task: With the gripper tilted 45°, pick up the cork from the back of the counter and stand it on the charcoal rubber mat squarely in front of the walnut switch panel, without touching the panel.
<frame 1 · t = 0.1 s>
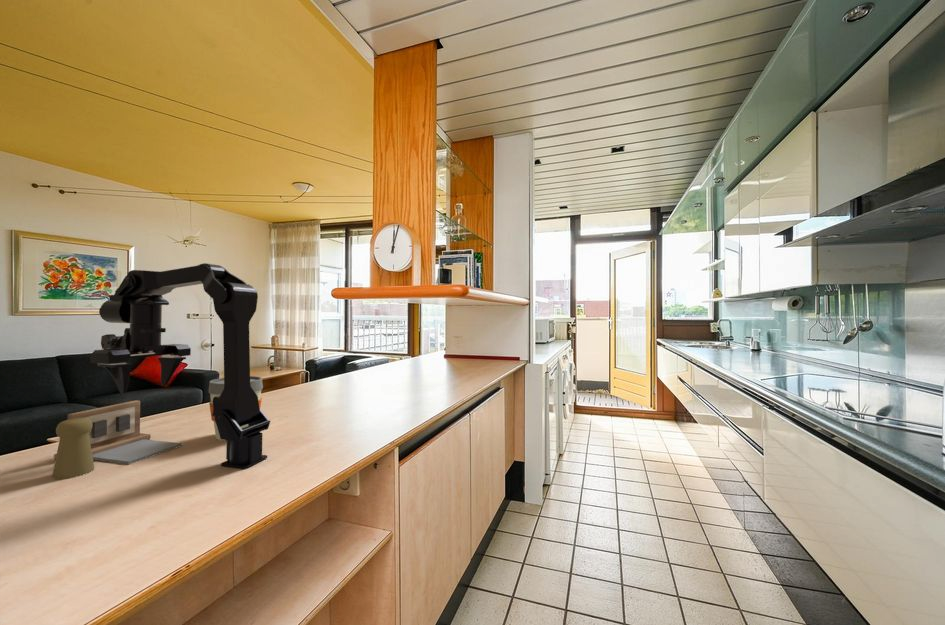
hand: (144, 389, 90), 15 cm above the kitchen counter, tool pointing down, fingers open, 9 cm apart
switch panel: (106, 448, 91), on the kitchen counter
reusable coffee cup: (235, 435, 102), on the kitchen counter
cork: (73, 473, 78), on the kitchen counter
mat: (137, 452, 89), on the kitchen counter
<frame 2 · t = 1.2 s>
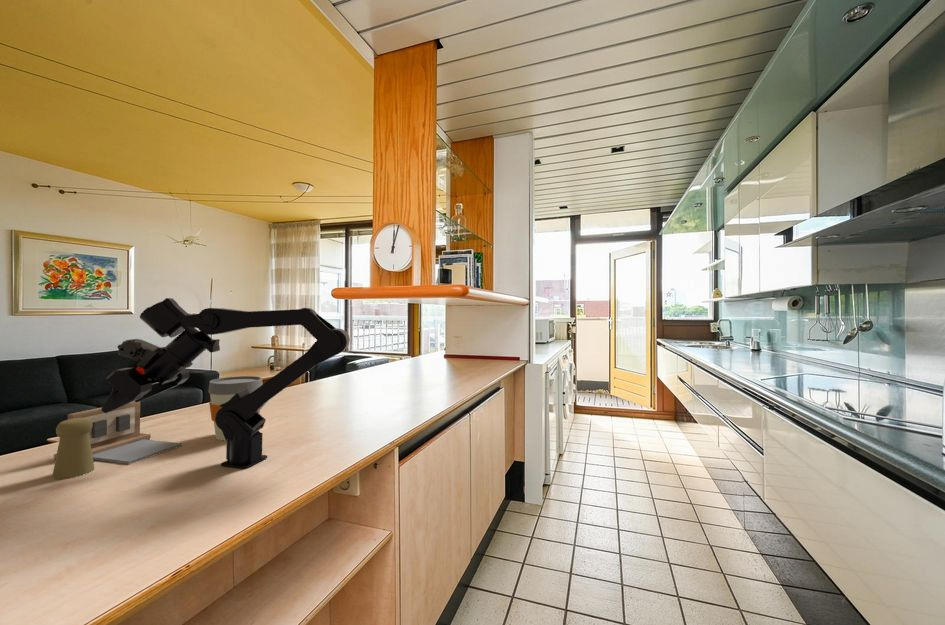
hand: (120, 405, 79), 13 cm above the kitchen counter, tool tilted 45°, fingers open, 9 cm apart
nothing on the kitchen counter moved.
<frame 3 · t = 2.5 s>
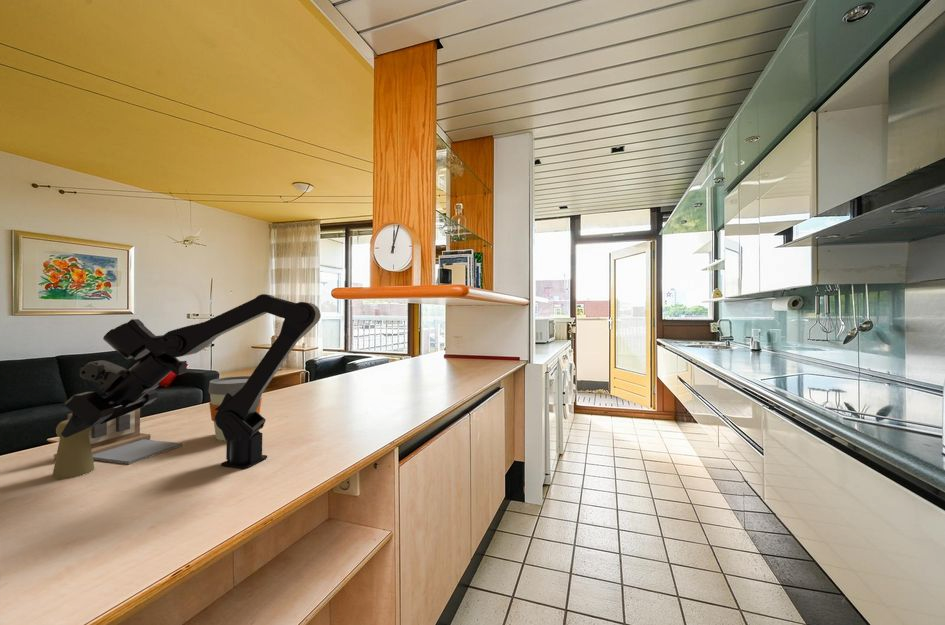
hand: (82, 428, 78), 9 cm above the kitchen counter, tool tilted 45°, fingers open, 9 cm apart
nothing on the kitchen counter moved.
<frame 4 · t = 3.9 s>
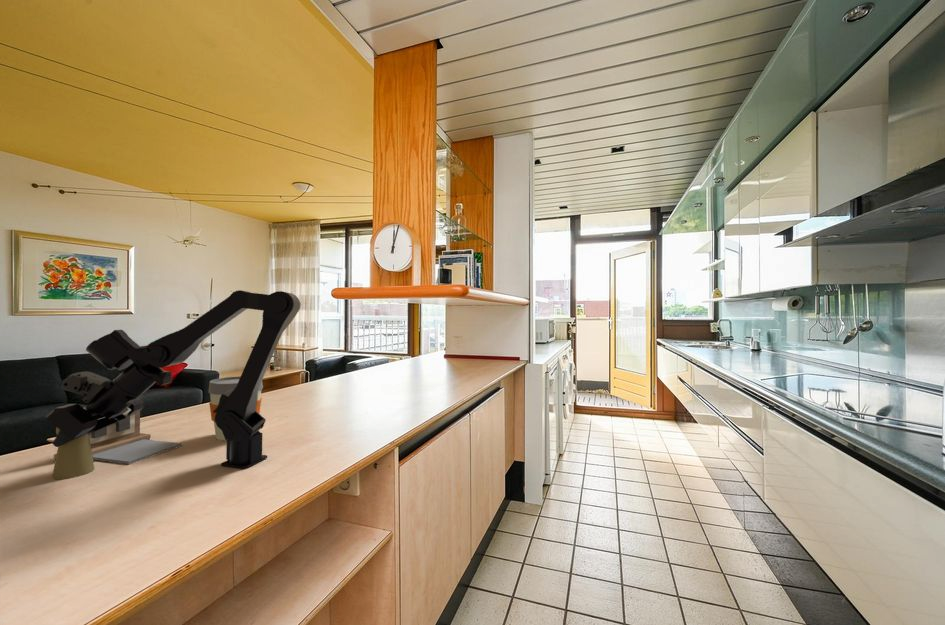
hand: (66, 440, 77), 7 cm above the kitchen counter, tool tilted 45°, fingers closed on cork, 5 cm apart
cork: (73, 473, 78), on the kitchen counter, touching gripper
everything else where it was.
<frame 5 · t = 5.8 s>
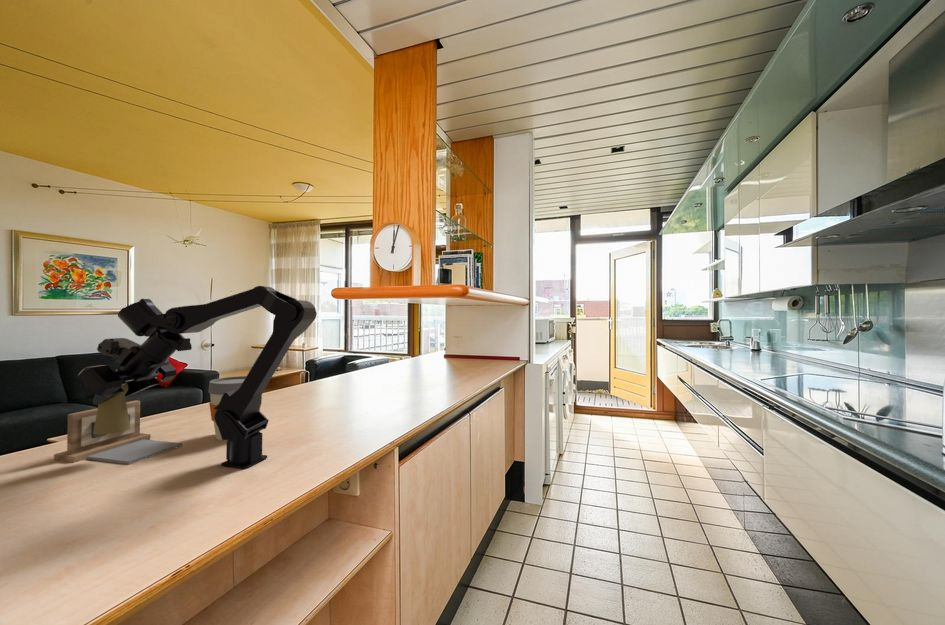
hand: (106, 400, 85), 13 cm above the kitchen counter, tool tilted 45°, fingers closed on cork, 5 cm apart
cork: (112, 431, 84), point 6 cm above the kitchen counter, touching gripper
everything else where it was.
when the fingers open (8 cm above the kitchen counter, at t = 7.7 s): cork drops 1 cm, resting on mat.
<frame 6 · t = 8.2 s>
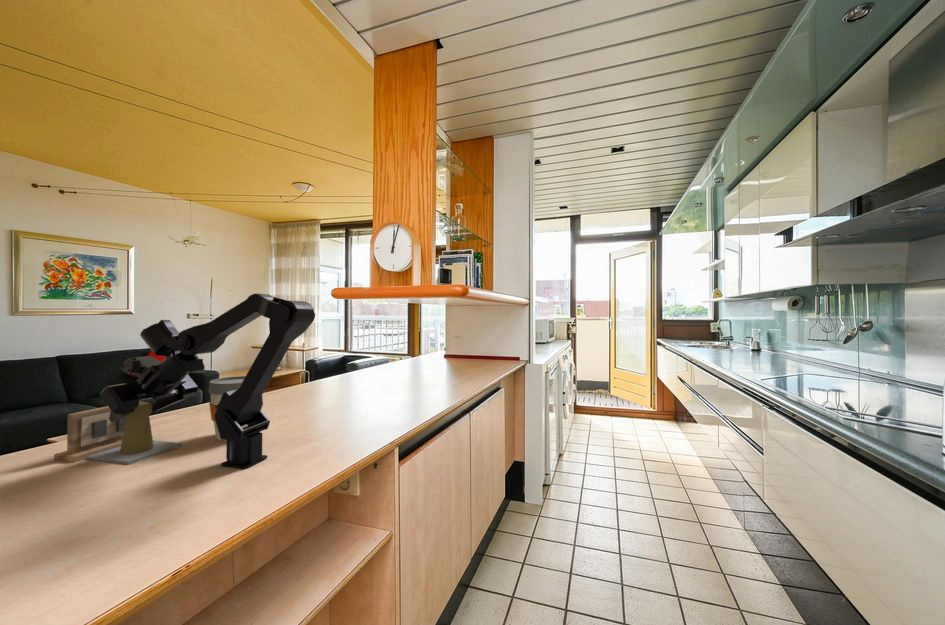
hand: (132, 415, 90), 9 cm above the kitchen counter, tool tilted 45°, fingers open, 9 cm apart
cork: (137, 450, 89), resting on mat
everything else where it was.
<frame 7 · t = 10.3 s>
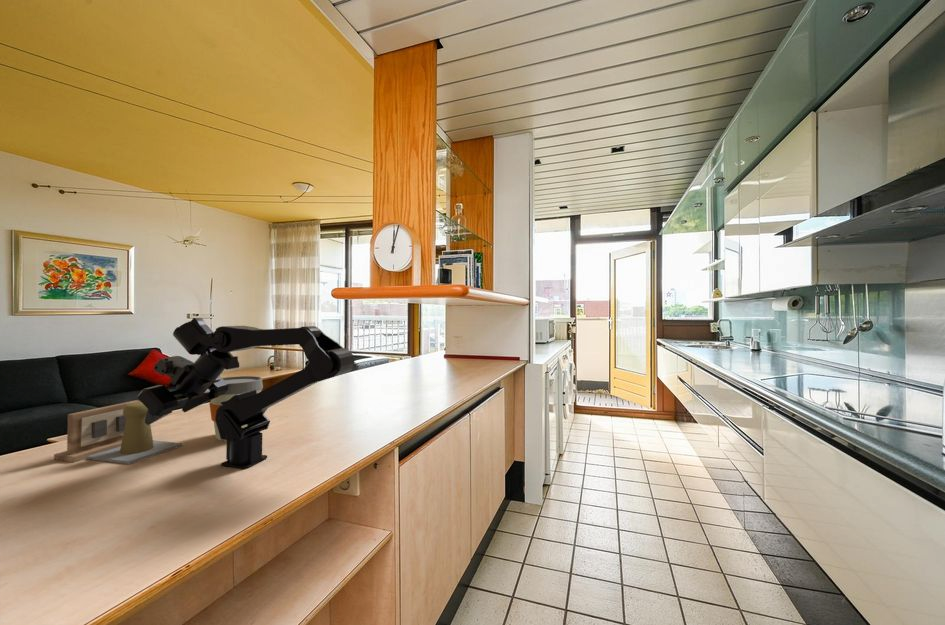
hand: (166, 416, 88), 9 cm above the kitchen counter, tool tilted 45°, fingers open, 9 cm apart
nothing on the kitchen counter moved.
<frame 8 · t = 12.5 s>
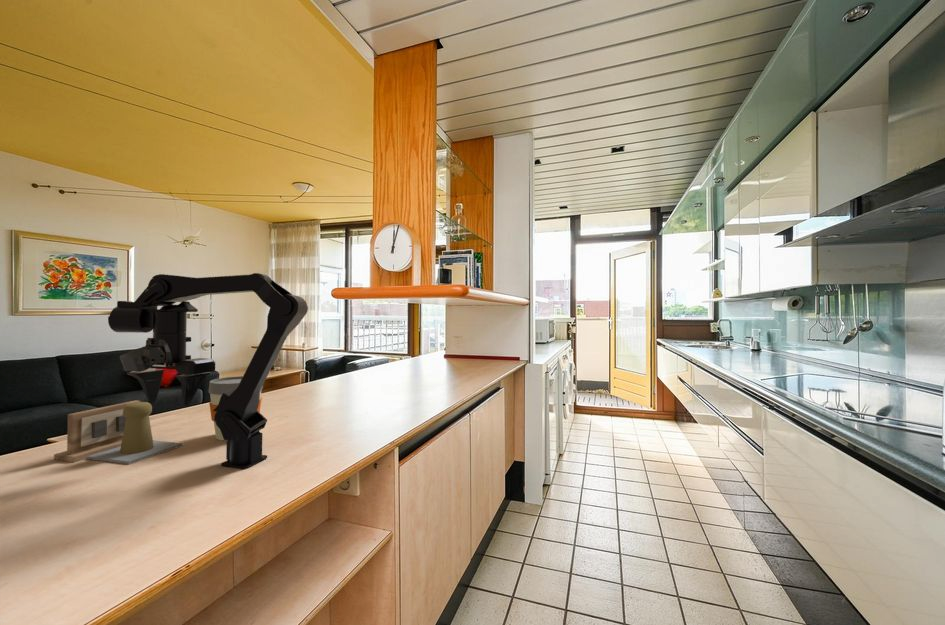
hand: (168, 404, 82), 13 cm above the kitchen counter, tool pointing down, fingers open, 9 cm apart
nothing on the kitchen counter moved.
at the end: cork inside the target area on the mat (0.1 cm from its centre), point 0.4 cm above the mat's base; cork tilted 0°; cork touching mat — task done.
